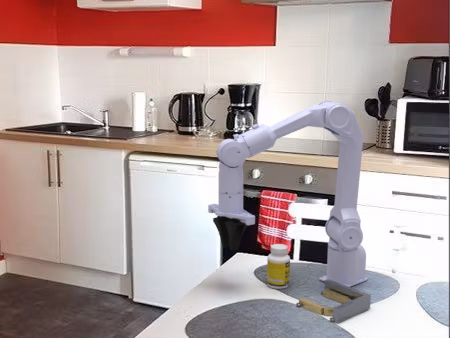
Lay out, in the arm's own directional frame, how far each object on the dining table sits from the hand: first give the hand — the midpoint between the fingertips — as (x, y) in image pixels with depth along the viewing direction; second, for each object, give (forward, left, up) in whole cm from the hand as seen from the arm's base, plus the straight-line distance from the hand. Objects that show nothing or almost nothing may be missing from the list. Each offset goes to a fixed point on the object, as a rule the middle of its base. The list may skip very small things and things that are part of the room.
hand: (230, 248), depth 134 cm
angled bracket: (-10, +22, -10) cm, 26 cm away
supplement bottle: (-10, +6, -10) cm, 15 cm away
